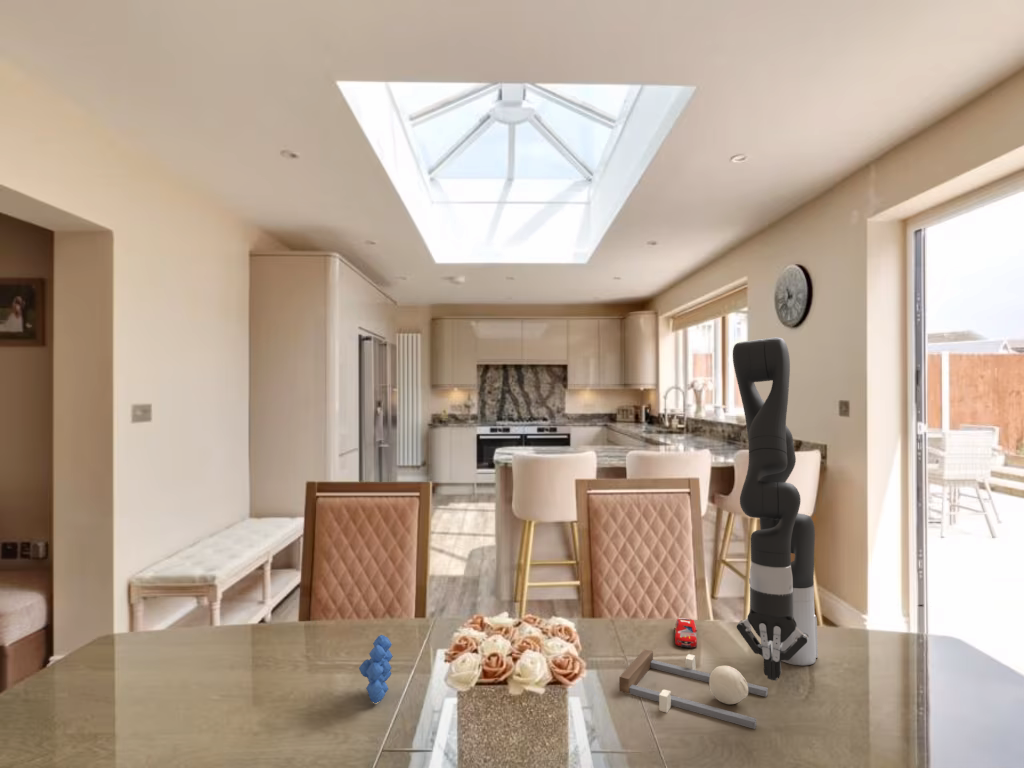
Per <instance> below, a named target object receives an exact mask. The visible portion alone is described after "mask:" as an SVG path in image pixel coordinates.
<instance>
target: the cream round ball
mask: <svg viewBox="0 0 1024 768" xmlns="http://www.w3.org/2000/svg"><path fill="white" fill-rule="evenodd" d="M710 674H711V675H710V679H709V682H708V684H709V689H710V693H711V694H712V695H713V697H714V698H715V699H716V700H718V701H719V702H720V703H723V704H726V705H734V704H738V703H739V702H741V701H743V700H744V699H745V698H747V697H748V695H749V692H748V684H747V683H748V682H747V679H745V677H744V676H743V675H742V673H741V672H740V671H739V670H737V668H735V667H733V666H729V665H719V666H716V667H715V668H714V669H712V671H711V673H710Z"/></svg>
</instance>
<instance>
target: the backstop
mask: <svg viewBox="0 0 1024 768" xmlns="http://www.w3.org/2000/svg"><path fill="white" fill-rule="evenodd" d="M652 660H654V653H653V650H649V649H645V648H644V649H643V650H642V651H641V652H640V653H639V654H638V655H637V657H635V659H634V660H632V662H631V663H630V664H629V665H628V666H627V668H625V670H624V671H623V672H622V673H621V675H619V692H620V693H621V692H622V693H624V694H628V695H630V694H629V687H630V686H631V685H636V686H638V684H639V682H640V681H641V680H642V679H643V678H644V676H645V675H646V674H647V673H648V671H649V670H650V669H652V668H651V661H652Z"/></svg>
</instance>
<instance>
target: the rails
mask: <svg viewBox="0 0 1024 768" xmlns="http://www.w3.org/2000/svg"><path fill="white" fill-rule="evenodd" d="M650 669H654V670H658V671H662V672H665V673H669V674H673V675H678V676H680V677H681V676H682V677H685V678H688V679H694V680H697V681H702V682H706V683H709V679H710V675H711V673H708V672H705V671H699V670H696V669H695V670H693V669H689V668H686V667H683V666H680V665H675V664H673V663H672V664H671V663H668V662H664V661H660V660H655V659H653V660H652V661H651V668H650ZM747 684H748V694H752V695H753V694H754V695H757V696H760V697H766V698H767V697H768V694H769V691H768V690H769V689H768V687H765V686H761V685H758V684H754V683H750V682H747ZM661 692H662V691H661ZM661 692H660V691H658V690H653V689H650V688H648V687H647V688H646V687H643V686H640V685H631V686H630V687H629V694H628V695H633V696H637V697H641V698H644V699H648V700H651V701H655V702H658V703H659V694H660V693H661ZM672 706H673V707H675V708H679V709H683V710H685V711H690V712H693V713H696V714H700V715H704V716H708V717H711V718H714V719H718V720H722V721H725V722H728V723H732V724H736V725H739V726H742V727H746V728H749V729H753V730H756V727H757V718H756V717H752V716H749V715H745V714H742V713H737V712H735V711H734V712H733V711H730V710H726V709H723V708H719V707H716V706H712V705H709V704H704V703H702V702H698V701H693V700H690V699H687V698H683V697H678V696H676V695H672V694H671V707H672Z"/></svg>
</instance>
